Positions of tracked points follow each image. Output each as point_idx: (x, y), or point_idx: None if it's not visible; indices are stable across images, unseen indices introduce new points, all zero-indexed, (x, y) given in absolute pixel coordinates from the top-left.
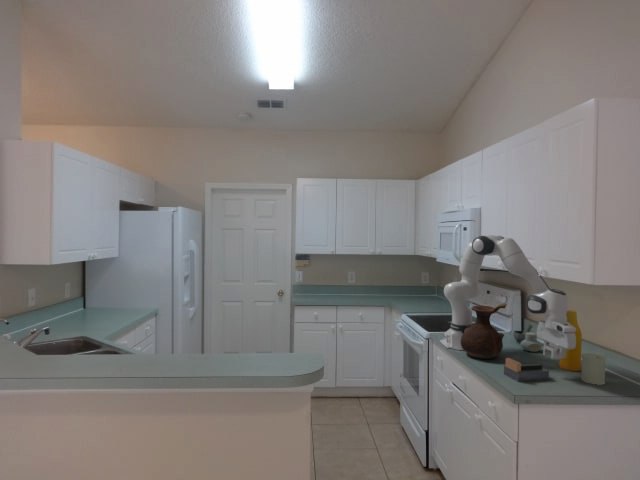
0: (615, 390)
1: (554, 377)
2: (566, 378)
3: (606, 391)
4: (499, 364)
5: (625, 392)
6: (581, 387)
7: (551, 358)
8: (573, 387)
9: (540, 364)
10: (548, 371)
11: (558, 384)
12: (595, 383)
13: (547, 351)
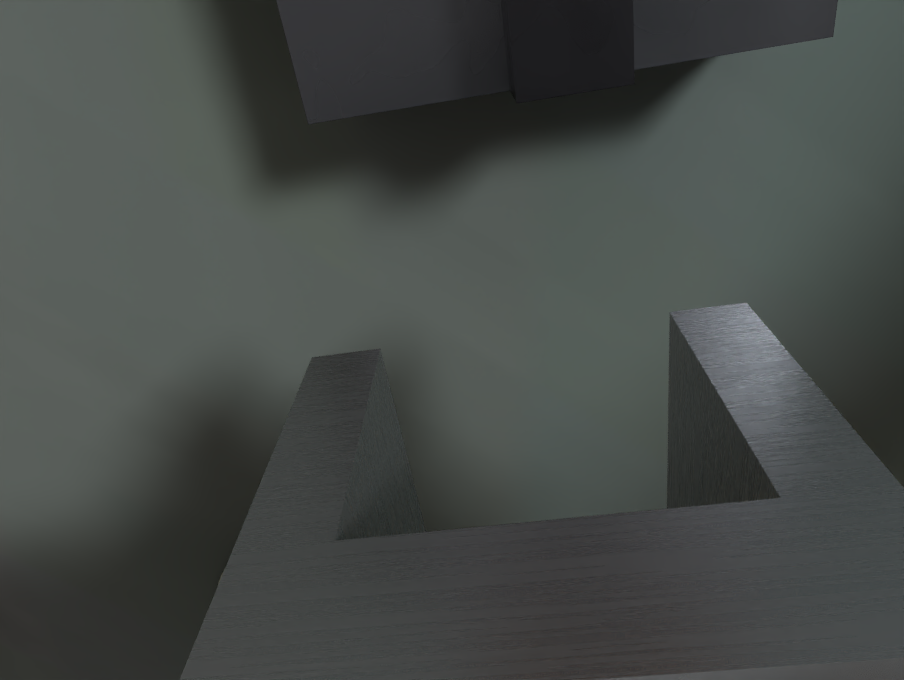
0: (78, 634)
1: (454, 262)
2: (413, 402)
3: (14, 552)
4: None
5: (46, 672)
6: (72, 382)
7: (366, 353)
8: (37, 279)
9: (561, 67)
10: (308, 109)
11: (118, 123)
12: (218, 583)
13: (711, 496)
